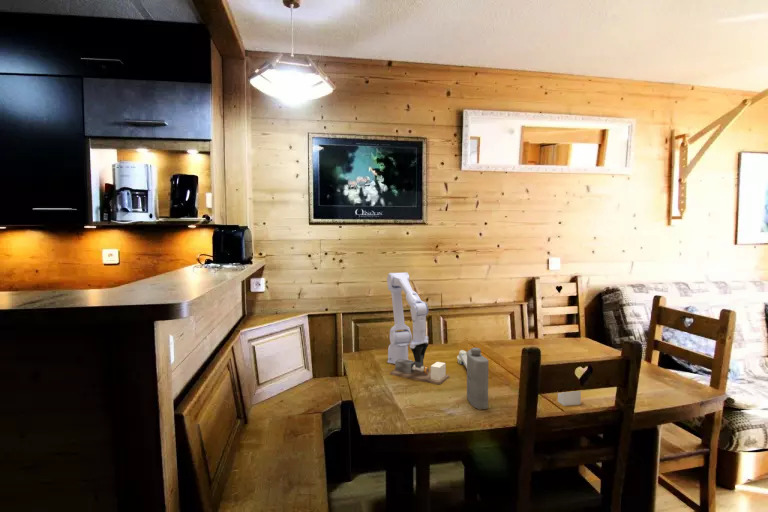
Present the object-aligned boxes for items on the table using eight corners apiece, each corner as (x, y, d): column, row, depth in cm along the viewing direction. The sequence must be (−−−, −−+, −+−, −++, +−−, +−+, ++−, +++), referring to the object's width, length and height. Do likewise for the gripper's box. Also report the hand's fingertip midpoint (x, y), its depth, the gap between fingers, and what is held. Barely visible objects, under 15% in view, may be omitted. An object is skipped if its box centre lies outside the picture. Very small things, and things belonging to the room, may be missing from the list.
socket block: (430, 379, 167) (430, 366, 167) (437, 374, 173) (437, 361, 173) (439, 380, 165) (439, 367, 165) (445, 375, 171) (445, 363, 171)
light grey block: (580, 404, 144) (581, 377, 143) (563, 405, 143) (564, 378, 142) (574, 400, 147) (574, 374, 147) (557, 401, 146) (558, 375, 146)
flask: (463, 393, 154) (464, 343, 153) (478, 393, 155) (478, 343, 154) (473, 410, 139) (473, 354, 138) (489, 410, 140) (490, 354, 139)
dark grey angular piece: (397, 369, 177) (397, 352, 177) (401, 367, 180) (401, 350, 180) (426, 374, 170) (426, 357, 170) (429, 372, 173) (429, 355, 172)
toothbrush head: (470, 371, 168) (456, 347, 193) (469, 385, 170) (455, 359, 194) (482, 371, 169) (466, 346, 193) (481, 385, 170) (466, 359, 194)
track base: (390, 374, 176) (390, 362, 175) (401, 367, 184) (400, 356, 184) (440, 384, 163) (440, 372, 163) (449, 377, 172) (449, 365, 171)
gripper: (420, 334, 164) (420, 366, 165) (434, 327, 177) (434, 357, 177) (405, 332, 168) (405, 364, 169) (420, 326, 180) (420, 355, 181)
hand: (419, 360), depth 173 cm, fingers closed on dark grey angular piece, 3 cm apart
